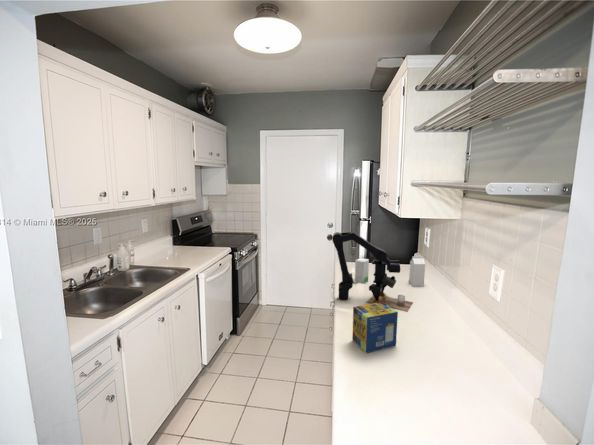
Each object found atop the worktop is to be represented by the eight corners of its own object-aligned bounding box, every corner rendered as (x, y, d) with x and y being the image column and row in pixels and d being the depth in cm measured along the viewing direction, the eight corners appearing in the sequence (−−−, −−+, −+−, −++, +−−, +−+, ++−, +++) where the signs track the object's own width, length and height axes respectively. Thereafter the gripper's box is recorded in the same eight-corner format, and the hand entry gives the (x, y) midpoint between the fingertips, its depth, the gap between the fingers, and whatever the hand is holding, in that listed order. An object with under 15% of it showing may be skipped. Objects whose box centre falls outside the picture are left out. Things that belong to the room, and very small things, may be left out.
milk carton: (423, 286, 192) (425, 258, 189) (412, 286, 192) (414, 257, 189) (419, 282, 199) (421, 255, 196) (408, 282, 199) (410, 255, 196)
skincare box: (363, 285, 195) (364, 262, 192) (354, 282, 199) (354, 260, 196) (368, 281, 201) (369, 259, 199) (359, 279, 205) (360, 257, 203)
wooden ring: (383, 303, 162) (383, 297, 162) (370, 300, 166) (370, 294, 166) (387, 299, 168) (387, 293, 168) (374, 296, 172) (374, 290, 172)
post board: (407, 314, 153) (408, 302, 152) (366, 304, 164) (366, 293, 163) (413, 304, 164) (413, 293, 163) (374, 296, 176) (374, 285, 175)
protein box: (351, 340, 129) (352, 306, 127) (381, 333, 134) (382, 301, 132) (365, 353, 119) (366, 317, 117) (396, 346, 125) (398, 311, 122)
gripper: (390, 279, 153) (388, 308, 155) (399, 269, 168) (397, 296, 171) (369, 275, 159) (368, 303, 161) (379, 266, 174) (378, 292, 177)
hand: (379, 298), depth 167 cm, fingers closed on wooden ring, 7 cm apart
